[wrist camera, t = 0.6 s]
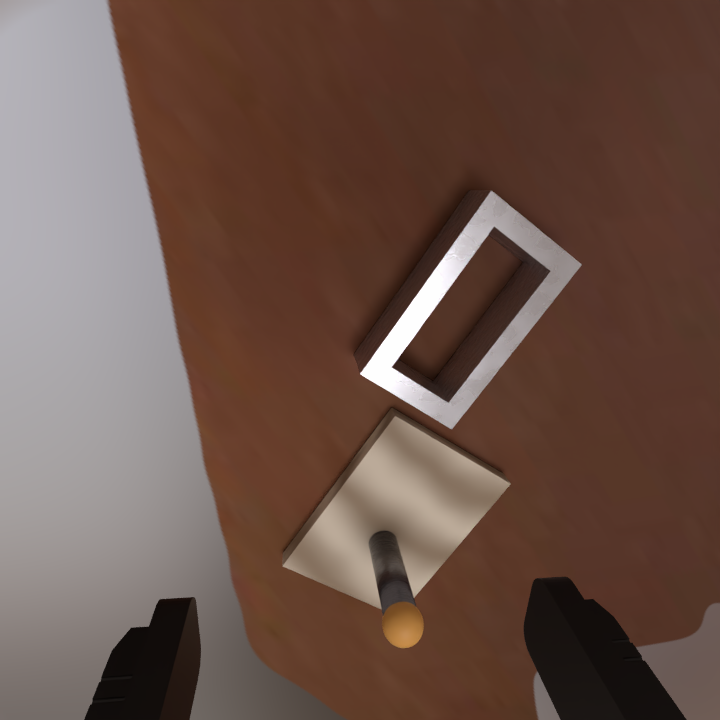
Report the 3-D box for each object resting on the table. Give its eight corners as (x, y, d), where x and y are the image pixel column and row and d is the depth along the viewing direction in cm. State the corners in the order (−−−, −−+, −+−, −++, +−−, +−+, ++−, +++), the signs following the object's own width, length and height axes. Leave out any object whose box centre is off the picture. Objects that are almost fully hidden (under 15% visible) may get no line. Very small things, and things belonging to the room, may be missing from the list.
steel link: (469, 190, 33) (491, 190, 29) (551, 256, 35) (581, 264, 31) (353, 354, 36) (360, 374, 32) (436, 405, 38) (451, 429, 34)
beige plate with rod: (391, 407, 37) (427, 489, 27) (503, 473, 41) (572, 568, 31) (282, 553, 41) (278, 674, 31) (394, 603, 44) (424, 726, 34)
